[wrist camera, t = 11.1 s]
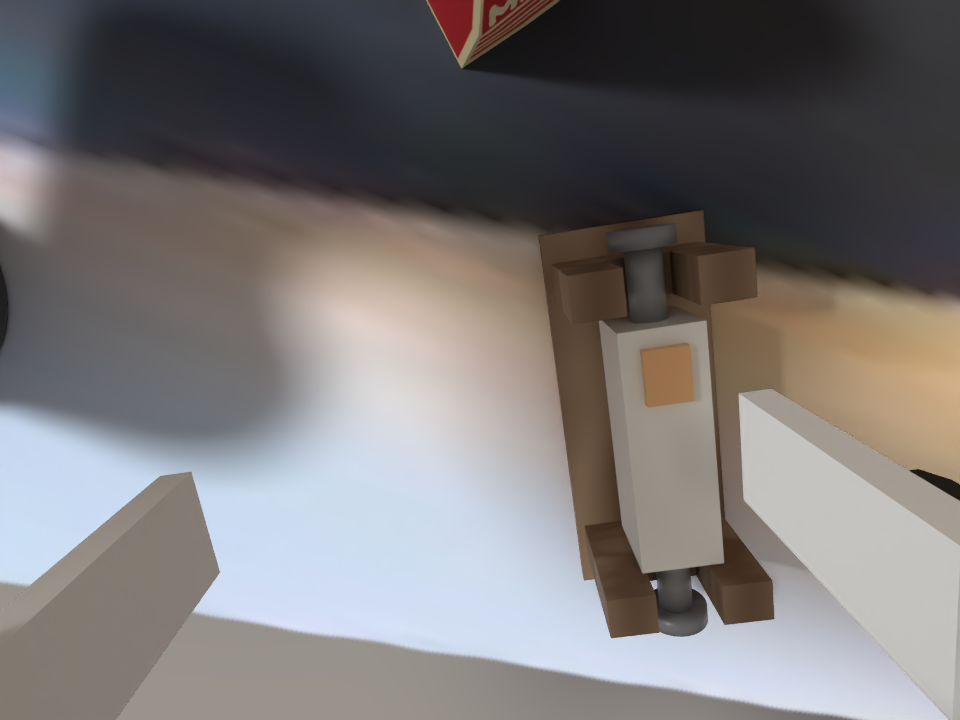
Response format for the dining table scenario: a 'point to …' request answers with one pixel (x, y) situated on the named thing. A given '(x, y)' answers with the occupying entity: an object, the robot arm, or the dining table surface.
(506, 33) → the milk carton
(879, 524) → the robot arm
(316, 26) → the dining table surface
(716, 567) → the cradle rack
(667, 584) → the white block with pegs
